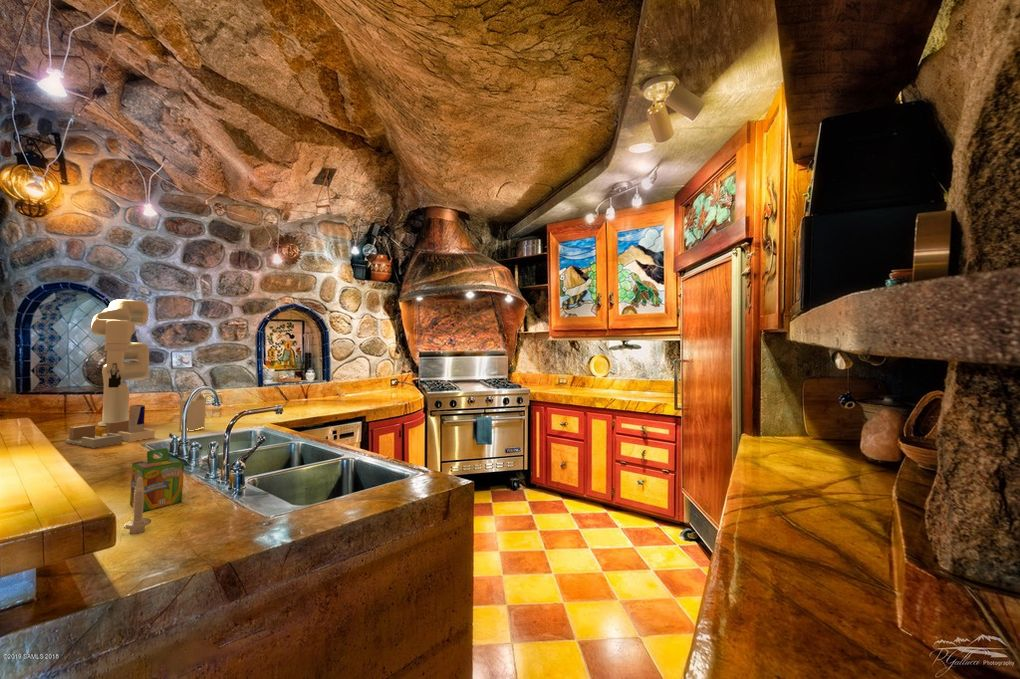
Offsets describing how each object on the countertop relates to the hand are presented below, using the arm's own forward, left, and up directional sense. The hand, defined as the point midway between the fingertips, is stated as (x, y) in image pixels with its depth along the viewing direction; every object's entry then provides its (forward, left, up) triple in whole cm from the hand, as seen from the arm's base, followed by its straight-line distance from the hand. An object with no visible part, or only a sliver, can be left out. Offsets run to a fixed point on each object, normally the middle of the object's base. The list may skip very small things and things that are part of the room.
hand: (114, 386), depth 181 cm
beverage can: (+6, +8, -23) cm, 25 cm away
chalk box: (+102, +17, -23) cm, 106 cm away
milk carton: (-4, +28, -23) cm, 37 cm away
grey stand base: (+8, -5, -23) cm, 25 cm away
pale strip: (+2, +5, -23) cm, 24 cm away
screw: (+121, +14, -23) cm, 124 cm away
